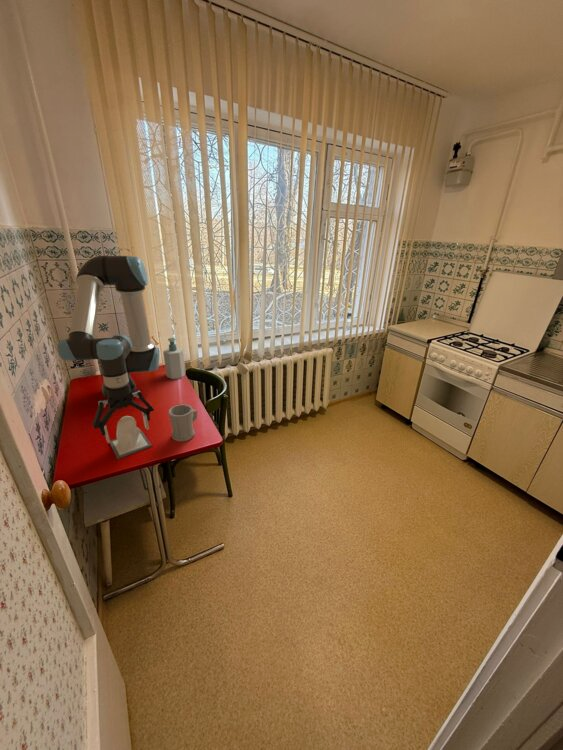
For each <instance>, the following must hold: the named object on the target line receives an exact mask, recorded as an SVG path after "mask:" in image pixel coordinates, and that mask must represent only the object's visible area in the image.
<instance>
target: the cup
mask: <svg viewBox="0 0 563 750" xmlns="http://www.w3.org/2000/svg"><path fill="white" fill-rule="evenodd" d="M168 415H169V420H170V423H171V431H172V432H171V437H172V440H174V441H176V442H187V441H190V440H191V439H192V438H194V437H195V432H196V431H195V429H194V424H193V423H194V422H195V421H197V418H198V411H197V410H196V409H193V407H192V406H191V405H189V404H183V403H182V404H177V405H174V406H172V407H171V408H169V410H168Z"/></svg>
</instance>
